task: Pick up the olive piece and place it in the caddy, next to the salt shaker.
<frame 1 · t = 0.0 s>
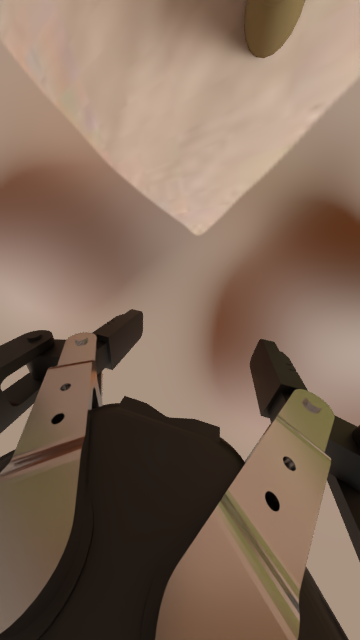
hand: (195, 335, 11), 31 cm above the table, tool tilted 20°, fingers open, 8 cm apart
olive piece: (274, 4, 17), on the table
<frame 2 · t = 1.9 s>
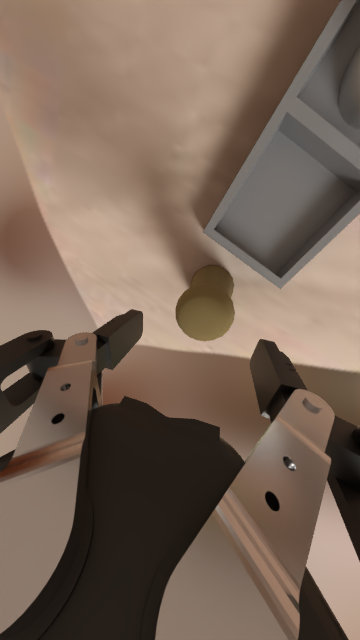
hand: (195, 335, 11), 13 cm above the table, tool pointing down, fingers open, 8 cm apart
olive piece: (211, 286, 22), on the table
caddy: (317, 160, 14), on the table
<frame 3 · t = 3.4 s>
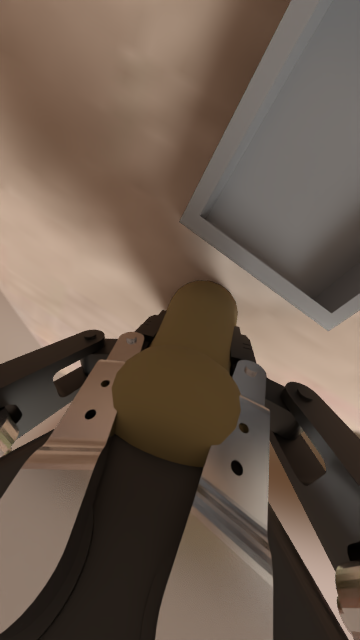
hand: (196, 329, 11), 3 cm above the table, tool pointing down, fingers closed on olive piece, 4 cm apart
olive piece: (202, 313, 14), on the table, touching gripper
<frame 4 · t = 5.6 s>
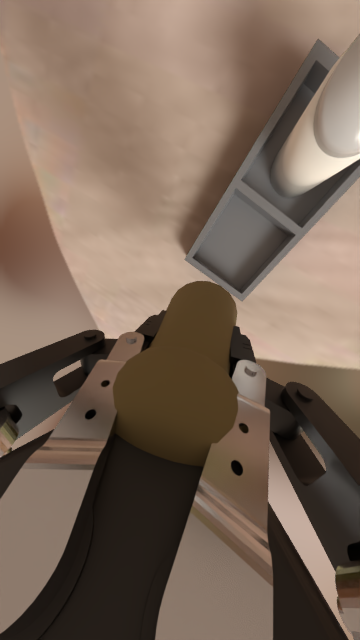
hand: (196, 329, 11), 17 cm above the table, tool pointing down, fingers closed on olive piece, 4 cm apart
salt shaker: (298, 167, 17), point 1 cm above the table, touching caddy
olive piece: (201, 313, 14), point 14 cm above the table, touching gripper
caddy: (262, 213, 20), on the table
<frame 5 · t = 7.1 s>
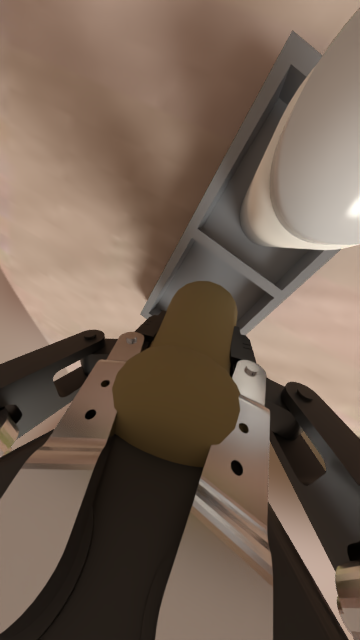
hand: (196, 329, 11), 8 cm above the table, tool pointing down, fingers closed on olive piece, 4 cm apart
salt shaker: (276, 209, 13), point 1 cm above the table, touching caddy
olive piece: (201, 313, 14), point 5 cm above the table, touching gripper
caddy: (234, 260, 16), on the table
when the fingers open (5 cm above the table, at t = 8.0 s): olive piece drops 1 cm, resting on caddy.
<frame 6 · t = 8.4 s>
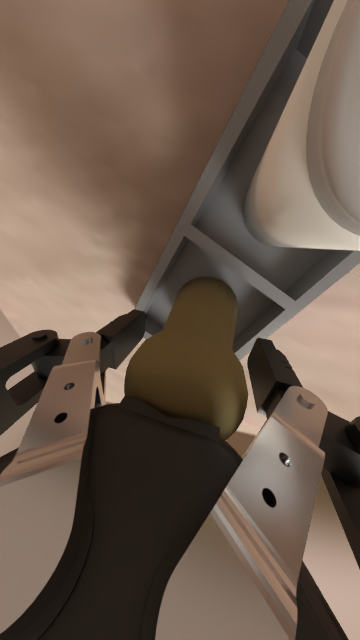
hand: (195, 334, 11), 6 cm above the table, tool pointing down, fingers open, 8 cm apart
salt shaker: (288, 200, 10), point 1 cm above the table, touching caddy
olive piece: (205, 307, 15), point 1 cm above the table, touching caddy
caddy: (236, 263, 13), on the table
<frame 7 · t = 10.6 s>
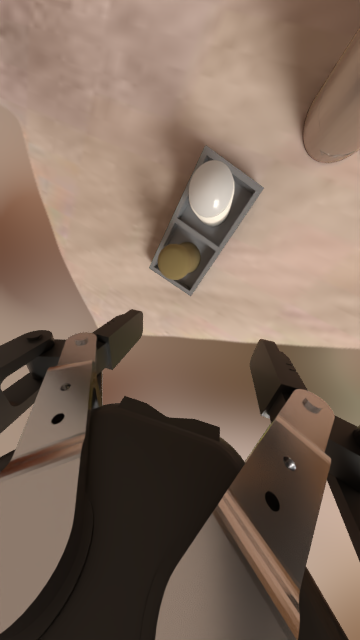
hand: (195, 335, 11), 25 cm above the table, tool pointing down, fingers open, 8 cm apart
salt shaker: (213, 208, 27), point 1 cm above the table, touching caddy
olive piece: (186, 258, 32), point 1 cm above the table, touching caddy
caddy: (198, 235, 30), on the table
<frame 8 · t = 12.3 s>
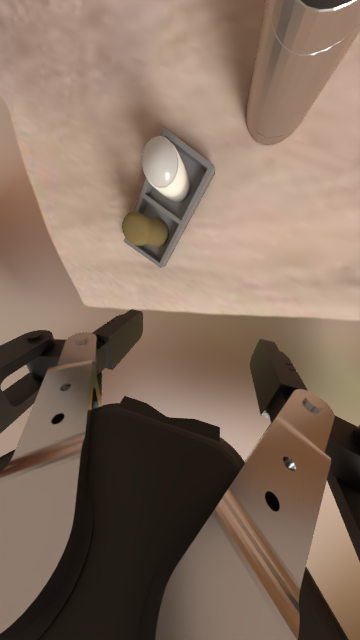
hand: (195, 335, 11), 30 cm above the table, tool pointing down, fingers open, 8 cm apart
salt shaker: (177, 185, 31), point 1 cm above the table, touching caddy
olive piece: (157, 233, 36), point 1 cm above the table, touching caddy
caddy: (166, 212, 34), on the table
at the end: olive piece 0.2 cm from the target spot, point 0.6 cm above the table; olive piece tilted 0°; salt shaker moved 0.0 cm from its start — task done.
